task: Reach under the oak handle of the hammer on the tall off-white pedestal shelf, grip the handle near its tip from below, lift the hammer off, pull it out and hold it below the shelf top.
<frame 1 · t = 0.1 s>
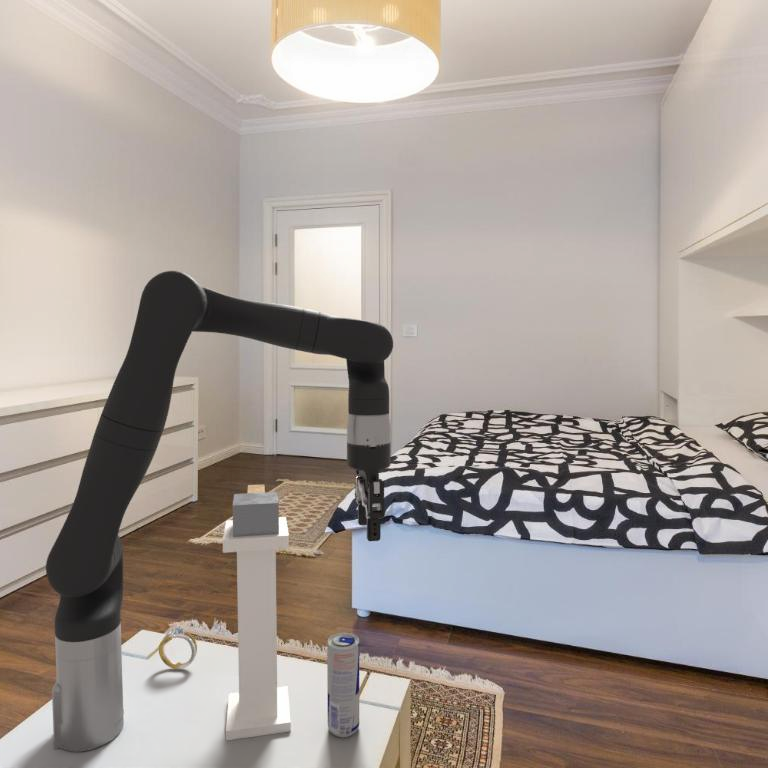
hand: (368, 532, 99), 29 cm above the table, tool pointing down, fingers open, 8 cm apart
ring: (178, 670, 109), on the table
hammer: (256, 527, 93), point 32 cm above the table, touching stand
stand: (258, 715, 95), on the table
beverage can: (343, 730, 92), on the table
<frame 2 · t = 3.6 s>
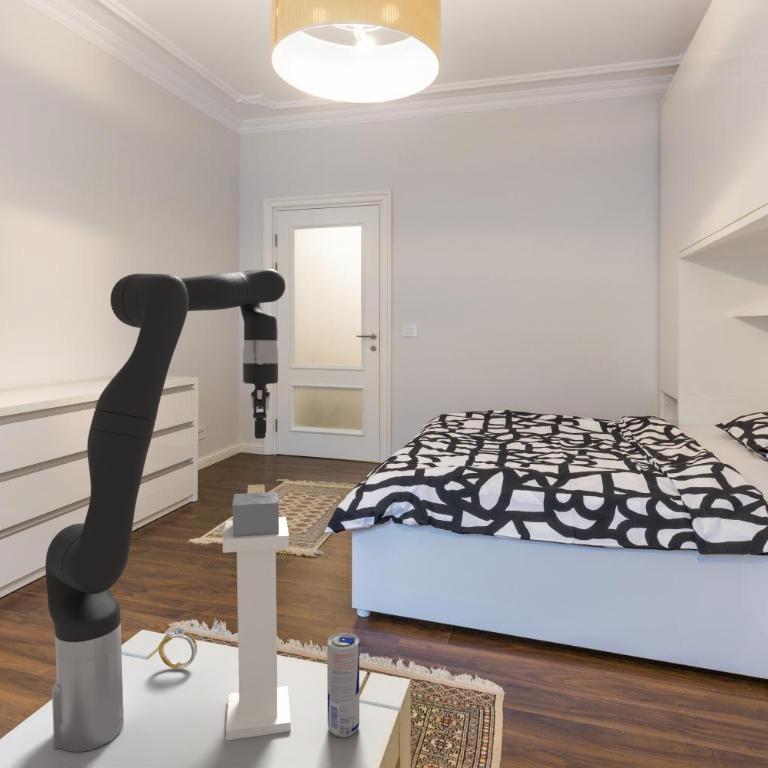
hand: (260, 435, 125), 42 cm above the table, tool pointing down, fingers open, 8 cm apart
nothing on the table moved.
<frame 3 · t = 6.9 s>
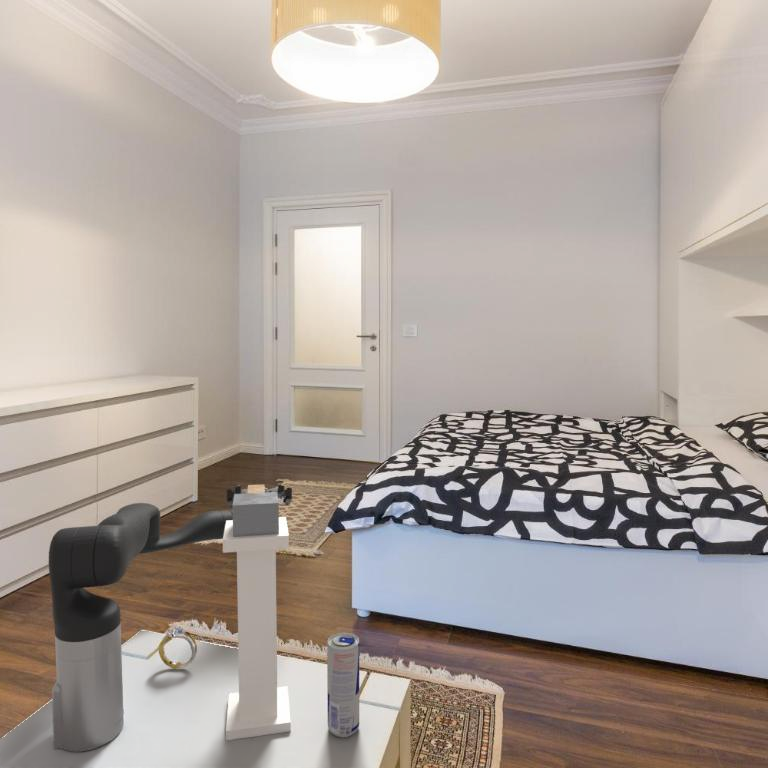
hand: (259, 488, 122), 31 cm above the table, tool pointing upward, fingers open, 8 cm apart
nothing on the table moved.
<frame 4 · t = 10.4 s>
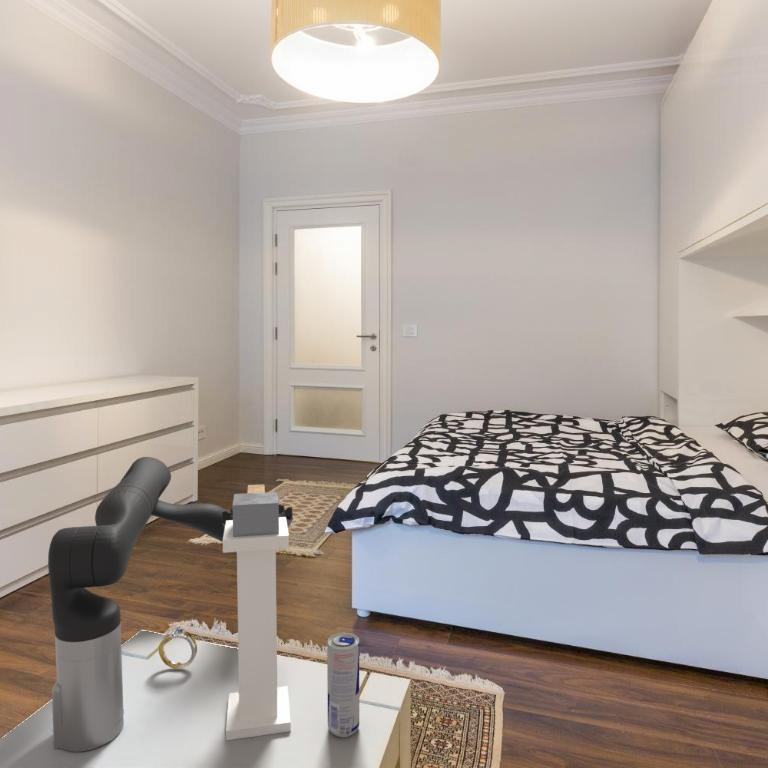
hand: (257, 509, 114), 29 cm above the table, tool pointing upward, fingers open, 8 cm apart
nothing on the table moved.
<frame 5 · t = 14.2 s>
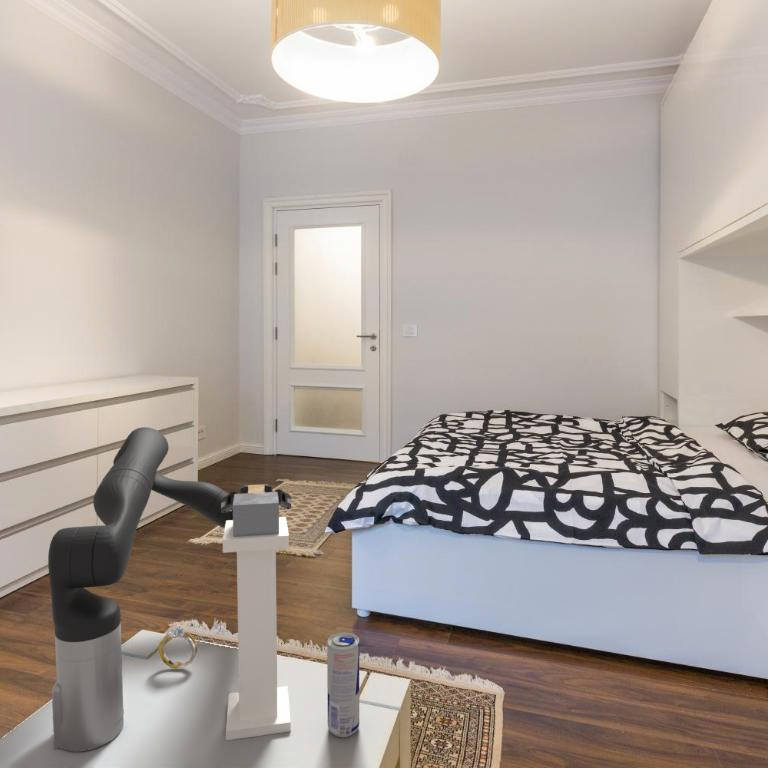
hand: (256, 490, 102), 36 cm above the table, tool pointing upward, fingers closed on hammer, 3 cm apart
hammer: (256, 527, 93), point 32 cm above the table, touching gripper, stand
everything else where it was.
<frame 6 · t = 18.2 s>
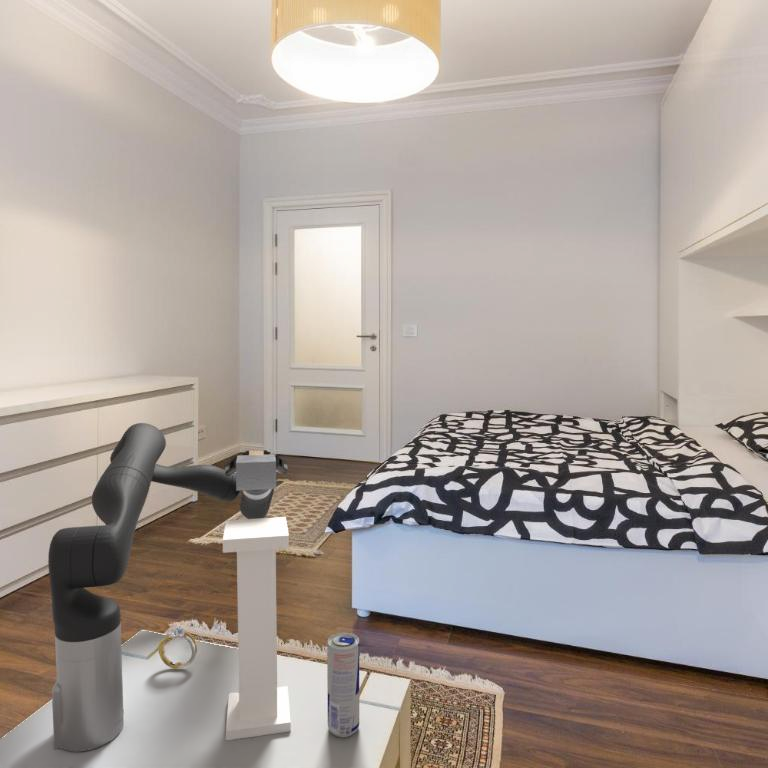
hand: (256, 454, 115), 40 cm above the table, tool pointing upward, fingers closed on hammer, 3 cm apart
hammer: (256, 484, 106), point 36 cm above the table, touching gripper
everything else where it was.
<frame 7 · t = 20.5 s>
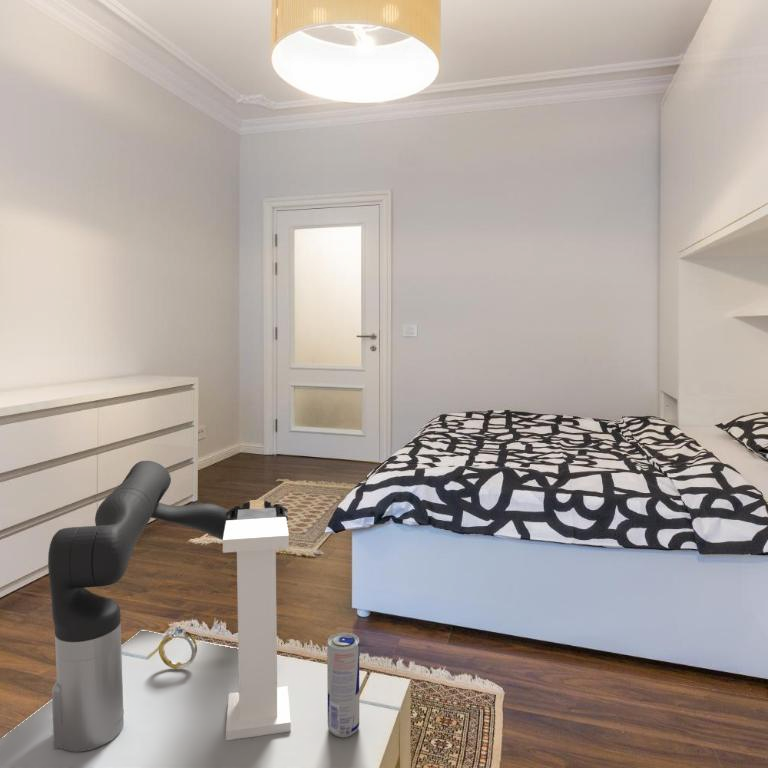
hand: (256, 505, 116), 29 cm above the table, tool pointing upward, fingers closed on hammer, 3 cm apart
hammer: (257, 539, 107), point 25 cm above the table, touching gripper
everything else where it was.
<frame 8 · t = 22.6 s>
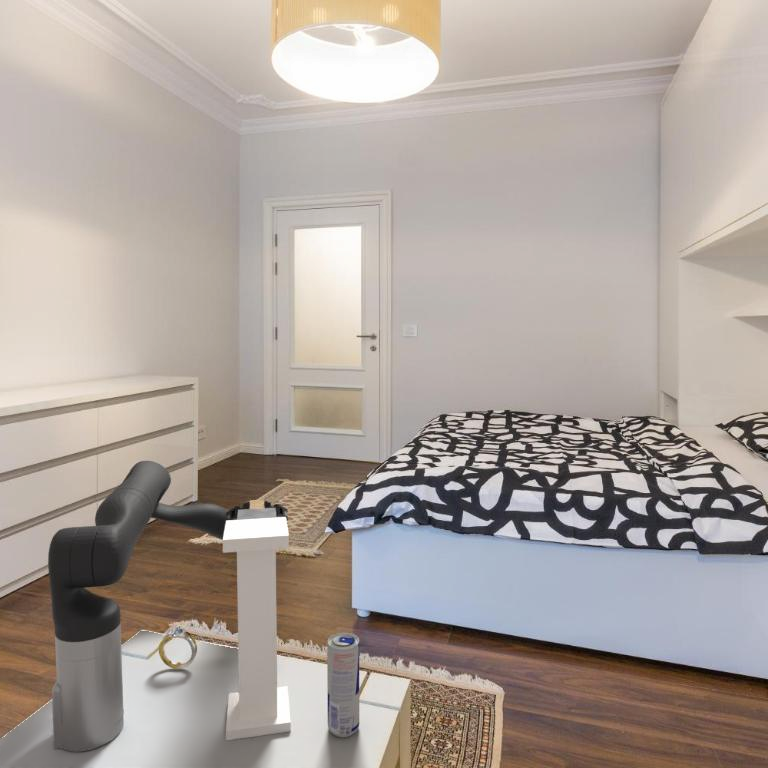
hand: (256, 505, 116), 29 cm above the table, tool pointing upward, fingers closed on hammer, 3 cm apart
hammer: (257, 539, 107), point 25 cm above the table, touching gripper
everything else where it was.
at the end: the gripper is holding hammer; hammer touching gripper; hammer moved 15.5 cm from its start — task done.
